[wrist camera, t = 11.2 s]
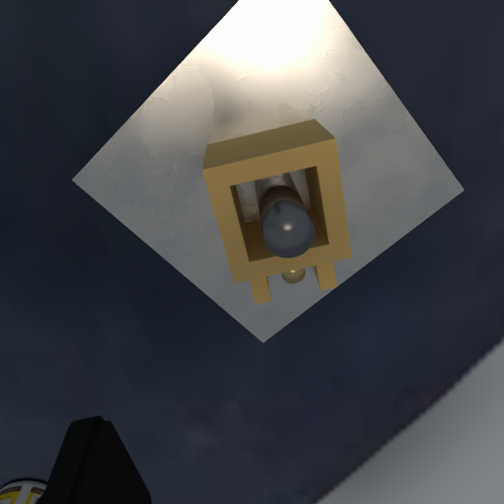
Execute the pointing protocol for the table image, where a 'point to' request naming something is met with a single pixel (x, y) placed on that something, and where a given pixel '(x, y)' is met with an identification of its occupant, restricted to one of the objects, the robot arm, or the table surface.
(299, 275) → the dowel
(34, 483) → the supplement bottle
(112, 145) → the post base
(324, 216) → the yellow hollow square block
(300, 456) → the table surface
